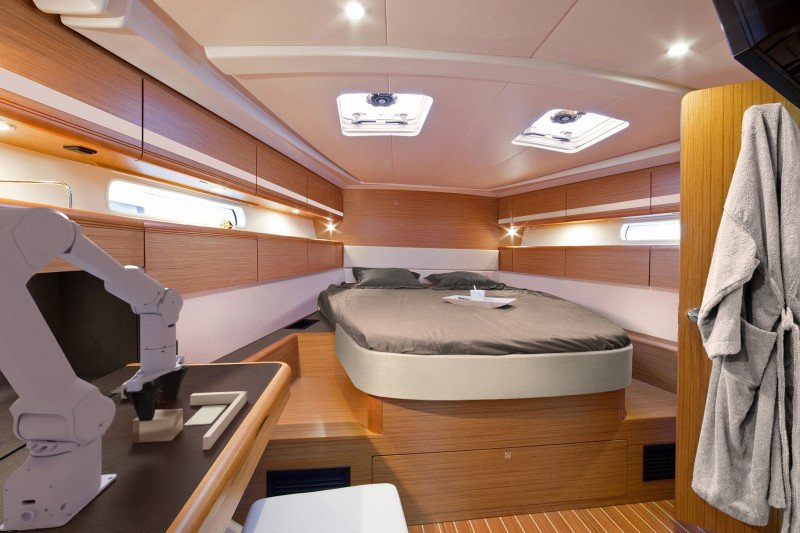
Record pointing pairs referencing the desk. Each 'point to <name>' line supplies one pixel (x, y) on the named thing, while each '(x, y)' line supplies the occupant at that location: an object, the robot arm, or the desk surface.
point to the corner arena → (215, 412)
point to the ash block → (158, 426)
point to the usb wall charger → (121, 390)
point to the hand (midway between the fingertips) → (159, 410)
